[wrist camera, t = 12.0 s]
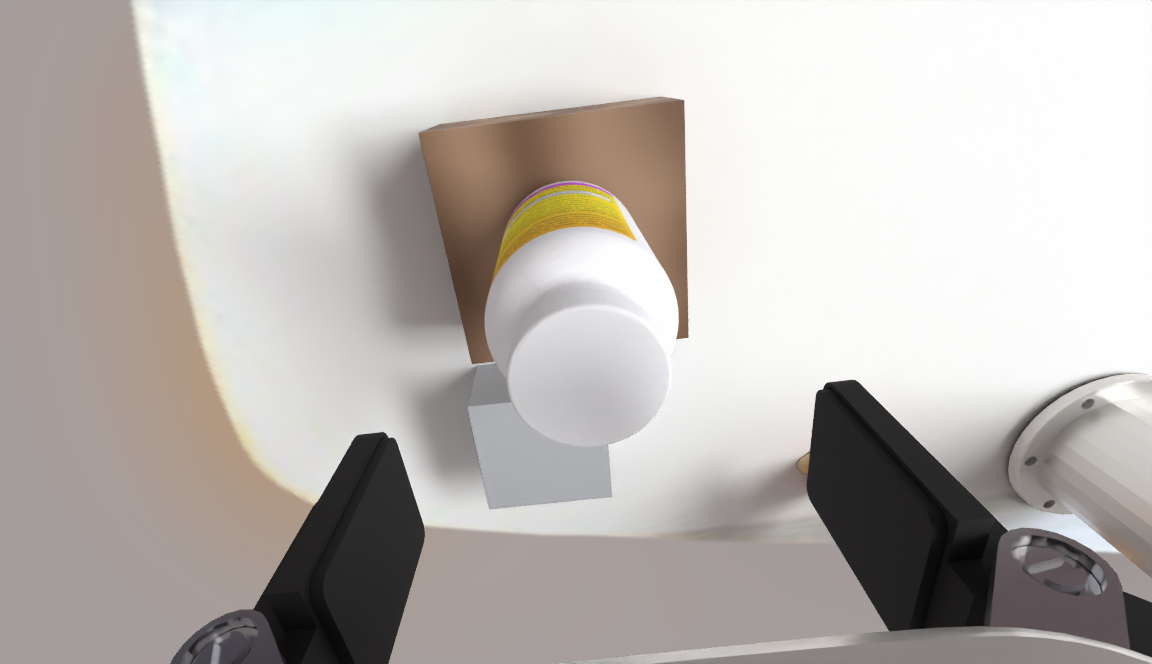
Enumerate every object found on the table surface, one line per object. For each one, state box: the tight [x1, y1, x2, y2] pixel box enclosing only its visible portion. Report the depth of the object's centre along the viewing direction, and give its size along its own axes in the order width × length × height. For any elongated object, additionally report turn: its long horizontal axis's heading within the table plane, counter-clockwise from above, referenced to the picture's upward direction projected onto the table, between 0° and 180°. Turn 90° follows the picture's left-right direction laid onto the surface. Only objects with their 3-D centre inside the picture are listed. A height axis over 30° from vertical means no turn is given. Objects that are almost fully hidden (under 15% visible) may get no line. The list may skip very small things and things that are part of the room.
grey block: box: [467, 364, 612, 509], centre depth 34 cm, size 8×8×5 cm
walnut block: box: [419, 97, 688, 364], centre depth 28 cm, size 12×12×5 cm
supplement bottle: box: [485, 181, 679, 447], centre depth 20 cm, size 7×7×13 cm
